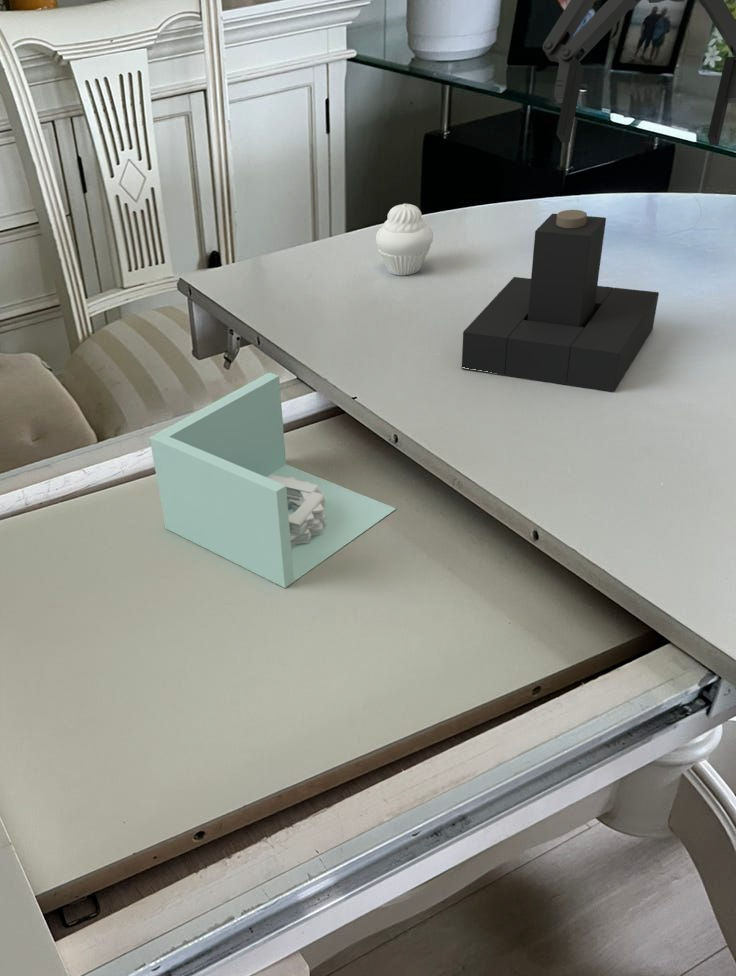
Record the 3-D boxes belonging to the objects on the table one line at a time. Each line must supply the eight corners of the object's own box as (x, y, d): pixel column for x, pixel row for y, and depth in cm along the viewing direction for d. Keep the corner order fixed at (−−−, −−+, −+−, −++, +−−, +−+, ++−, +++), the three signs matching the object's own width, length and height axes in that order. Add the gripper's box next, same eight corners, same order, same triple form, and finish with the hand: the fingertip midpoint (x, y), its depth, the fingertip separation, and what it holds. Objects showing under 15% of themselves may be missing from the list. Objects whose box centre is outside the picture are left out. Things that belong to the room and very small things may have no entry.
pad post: (590, 342, 91) (607, 207, 83) (575, 362, 88) (592, 225, 80) (540, 335, 93) (553, 203, 85) (524, 355, 90) (535, 220, 82)
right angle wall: (285, 588, 66) (276, 491, 62) (165, 528, 73) (149, 437, 69) (396, 508, 73) (396, 415, 68) (276, 460, 79) (268, 372, 75)
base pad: (652, 329, 92) (659, 292, 89) (613, 392, 83) (620, 352, 81) (511, 312, 97) (513, 276, 95) (461, 369, 89) (463, 331, 87)
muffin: (364, 275, 108) (363, 208, 104) (396, 256, 112) (396, 191, 107) (412, 284, 105) (413, 216, 101) (443, 265, 109) (445, 198, 104)
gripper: (541, -127, 91) (495, 126, 96) (850, -158, 80) (781, 129, 85) (557, -87, 97) (514, 148, 102) (846, -111, 86) (781, 153, 92)
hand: (635, 140), depth 94 cm, fingers open, 13 cm apart
